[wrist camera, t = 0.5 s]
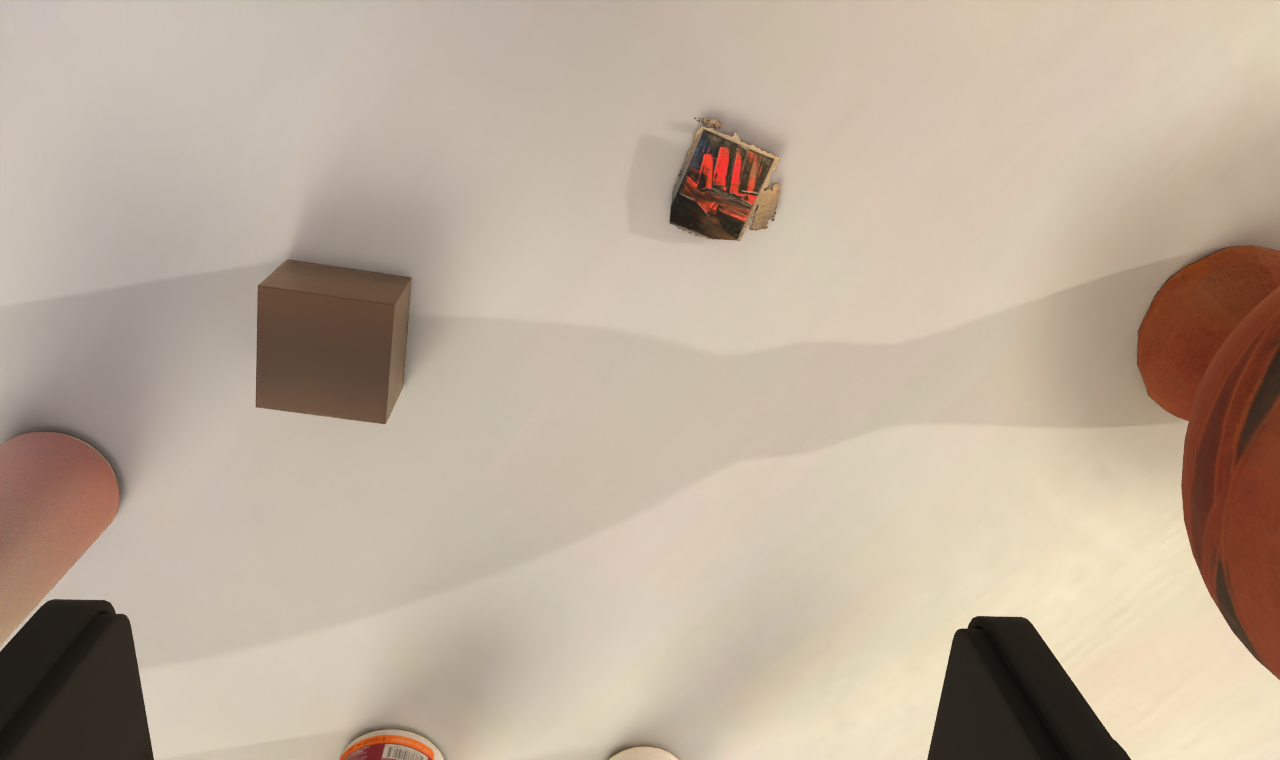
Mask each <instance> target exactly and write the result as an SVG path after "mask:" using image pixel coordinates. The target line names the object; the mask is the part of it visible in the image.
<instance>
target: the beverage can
mask: <svg viewBox="0 0 1280 760" xmlns="http://www.w3.org/2000/svg"><path fill="white" fill-rule="evenodd" d="M119 499H120V496H119V487H118V482H117V479H116V476H115V473H114V471H113V469H112V467H111V466H110V464H109V463H108V461H107V460H106V459H105V458H104V456H103V455H102V454H101V453H100V452H99V451H97V450H96V449H95V448H94V447H92V446H91V445H89V444H88V443H86V442H84V441H82V440H80V439H78V438H75V437H73V436H70V435H66V434H62V433H55V432H30V433H25V434H21V435H18V436H15V437H13V438H11V439H9V440H8V441H6V442H5V443H3V444H2V445H1V446H0V646H1V645H2V644H3V642H4V641H5V640H6V639H7V638H8V637H9V636H10V635H11V634H12V632H13V631H14V630H15V629H16V628H17V627H18V626H19V625H20V624H21V623H22V621H23V620H24V619H25V618H26V617H27V616H28V615H29V614H30V613H31V611H32V610H33V609H34V608H35V607H36V606H37V605H38V604H39V603H40V601H41V600H42V599H43V598H44V597H45V596H46V595H47V594H48V593H49V591H50V590H51V589H52V588H53V587H54V586H55V585H56V584H57V583H58V581H59V580H60V579H61V578H62V577H63V576H64V575H65V574H66V573H67V571H68V570H69V569H70V568H71V567H72V566H73V565H74V564H75V563H76V562H77V560H78V559H79V558H80V557H81V556H82V555H83V554H84V553H85V552H86V550H87V549H88V548H89V547H90V546H91V545H92V544H93V543H94V542H95V540H96V539H97V538H98V537H99V536H100V535H101V534H102V533H103V532H104V530H105V529H106V528H107V527H108V526H109V525H110V524H111V522H112V521H113V519H114V518H115V516H116V514H117V511H118V507H119Z"/></svg>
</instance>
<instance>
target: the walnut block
mask: <svg viewBox="0 0 1280 760" xmlns="http://www.w3.org/2000/svg"><path fill="white" fill-rule="evenodd" d="M411 280H412V279H411V278H409V277H402V276H395V275H389V274H382V273H375V272H368V271H361V270H355V269H348V268H341V267H334V266H327V265H320V264H314V263H307V262H300V261H293V260H286V261H285V262H284V263H283V264H282V265H281V266H280V267H278V268H277V269H276V270H275V271H274V272H273V273H272V274H271V275H269V276H268V277H267V278H266V279H265V280H264V281H263V282H262V283H261V284H259V285H258V312H257V366H256V407H258V408H265V409H273V410H281V411H288V412H296V413H304V414H311V415H319V416H327V417H334V418H342V419H349V420H357V421H365V422H372V423H380V424H386V422H387V420H388V418H389V416H390V414H391V412H392V409H393V407H394V405H395V403H396V401H397V399H398V397H399V395H400V393H401V391H402V388H403V378H404V366H405V354H406V341H407V329H408V317H409V304H410V292H411Z"/></svg>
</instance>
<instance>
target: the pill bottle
mask: <svg viewBox="0 0 1280 760" xmlns="http://www.w3.org/2000/svg"><path fill="white" fill-rule="evenodd" d="M339 760H444V758H443V756H442V755H441V753H440V752H439V750H438V749H437V748H436V747H435V746H434V745H433V744H432V743H431V742H430V741H429V740H427V739H426V738H424V737H422V736H420V735H418V734H415V733H412V732H408V731H404V730H395V729H389V730H379V731H374V732H370V733H367V734H365V735H362V736H360V737H359V738H357V739H355V740H354V741H353V742H352V743H350V744H349V745H348V746H347V747H346V748H345V750H344V751H343V753H342V754H341V756H340V758H339Z"/></svg>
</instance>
